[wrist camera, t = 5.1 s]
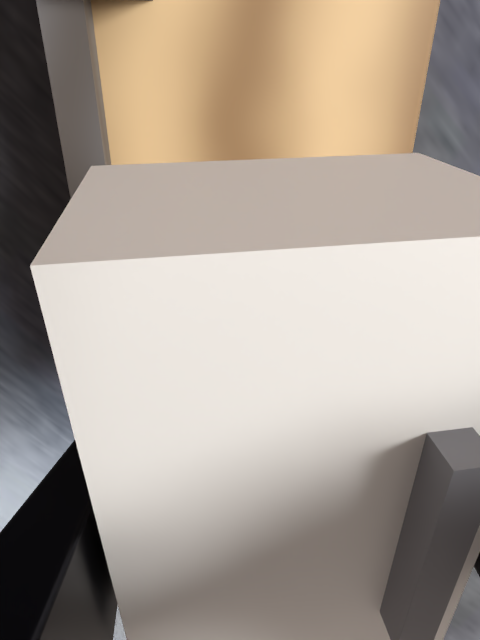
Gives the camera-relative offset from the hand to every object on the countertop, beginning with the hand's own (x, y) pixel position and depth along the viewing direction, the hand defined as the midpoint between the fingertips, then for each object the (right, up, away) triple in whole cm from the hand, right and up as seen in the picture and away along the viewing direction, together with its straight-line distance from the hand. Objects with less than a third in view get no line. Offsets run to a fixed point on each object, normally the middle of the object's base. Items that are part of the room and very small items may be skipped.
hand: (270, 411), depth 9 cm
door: (0, +1, +1) cm, 1 cm away
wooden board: (0, +8, +10) cm, 12 cm away
